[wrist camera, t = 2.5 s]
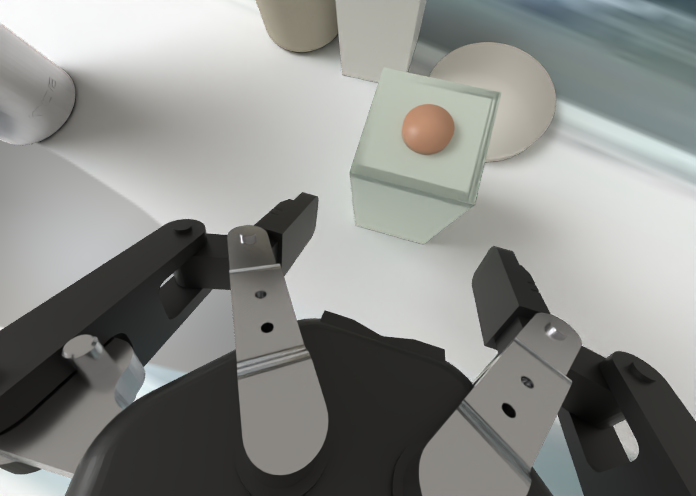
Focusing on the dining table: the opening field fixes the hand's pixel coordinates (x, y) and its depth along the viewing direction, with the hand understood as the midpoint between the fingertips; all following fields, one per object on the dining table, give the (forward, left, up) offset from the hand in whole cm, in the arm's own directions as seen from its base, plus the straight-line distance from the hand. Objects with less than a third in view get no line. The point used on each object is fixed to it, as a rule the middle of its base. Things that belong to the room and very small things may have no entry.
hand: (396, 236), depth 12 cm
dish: (+5, +16, -10) cm, 20 cm away
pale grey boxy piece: (0, +5, -10) cm, 11 cm away
